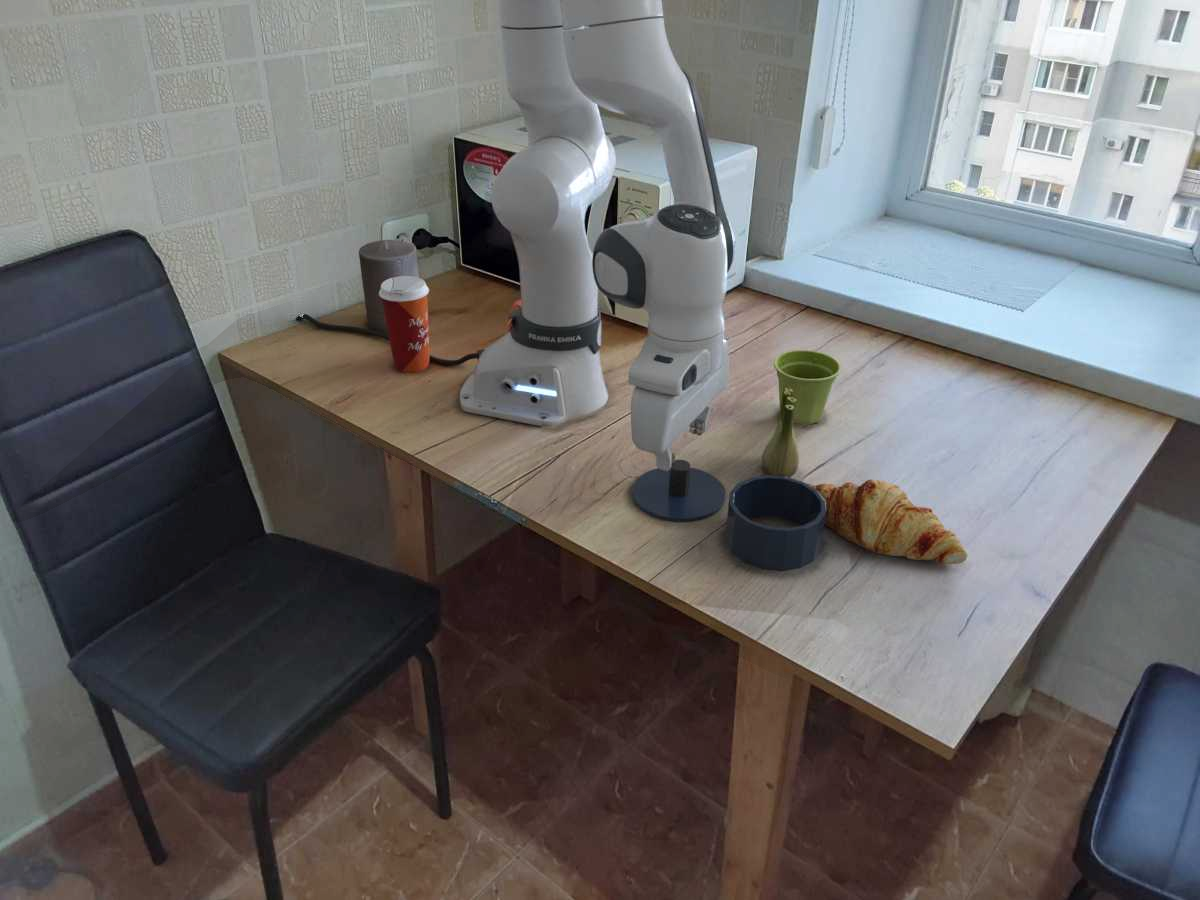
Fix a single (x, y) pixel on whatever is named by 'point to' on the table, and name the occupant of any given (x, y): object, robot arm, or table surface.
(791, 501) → the pot
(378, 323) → the pillar candle
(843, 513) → the croissant
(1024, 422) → the table surface
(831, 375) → the plant pot
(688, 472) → the lid
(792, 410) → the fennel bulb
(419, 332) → the paper cup
